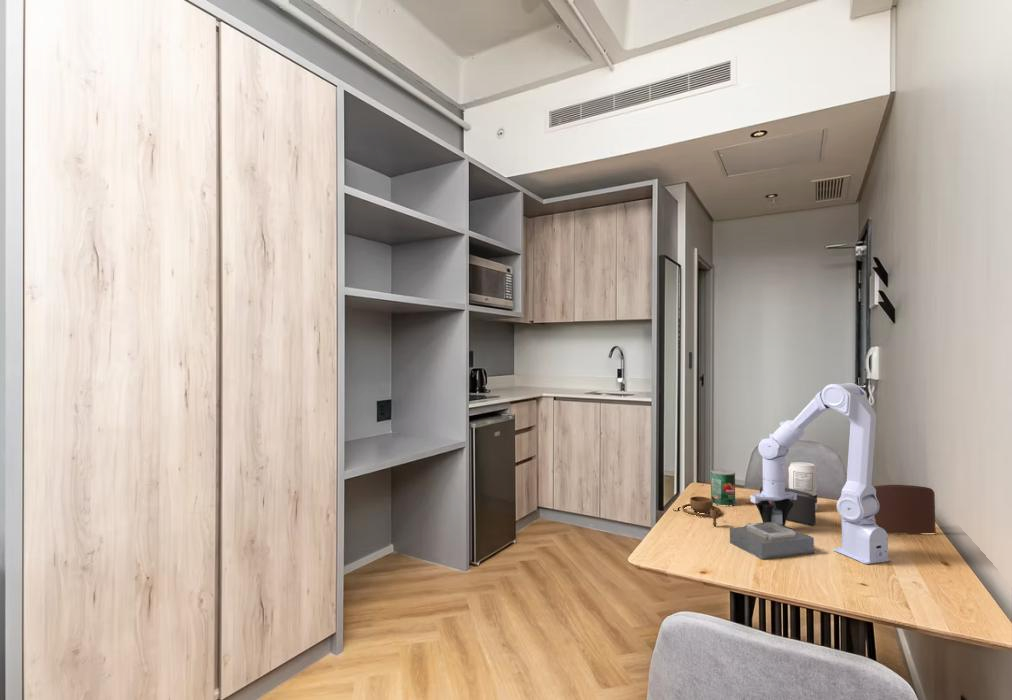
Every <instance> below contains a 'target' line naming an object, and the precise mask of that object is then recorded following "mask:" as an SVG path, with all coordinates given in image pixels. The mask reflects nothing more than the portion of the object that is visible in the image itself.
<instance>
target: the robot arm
mask: <svg viewBox="0 0 1012 700" xmlns="http://www.w3.org/2000/svg"><path fill="white" fill-rule="evenodd" d="M867 395H868V394H867V392H866V391H865V390H864V389H863V388H862V387H861V386H859V385H857V384H856V383H852V382H846V383H830V384H827V385H826V386H824V388H822V390H820V391H818V393H816V394H815V396H814V397H813V399H811V401H810V402H809V403H807V405H805V407H804V408H803V409H802V411H800V413H798V414H797V416H796V417H794V419H787V420H785V421H781V422H780V423H779V427H778V428H777V429H776V430H775V431H774V432H771V433H770V434H769V438H762V439H761V440H760V442H759V444H758V446H757V447H758V449H757V451H758V453H759V454H760V456H761V457H762V459H761V460H762V486H763V491H762V493H760V492H759V493H756V494H751V495H750V497H749V498H750V502H751V503H753V504H755V506H756V508H757V510H758V512H759V515H760V517H761V520H762V521H761V522H762V523H764V522H771V515H772V511H773V508H774V506H773V505H771V504H770V503H769V501H774V503H775V506H776V508H777V509H780V510H782V518H783V525H784V526H786V522H787V520H786V519H787V516H788V513H789V511H790V510H791V508H792V507H793V502H791V501H790V500H791V499H792V500H797V493H794V492H785V488H786V487H785V486H786V485H785V479H786V477H785V460H786V459H785V458H786V456H787V455H788V453H789V450H790V448H792V446H793V445H795V444H796V442H798V441H799V440H801V439H802V437H803V436H804V435H805V428H806V427H807V426H809V424H811V423H812V422H813V421H814V420H815V419H817V418H818V417H819V416H820V415H822V414H823V413H824V412H826V411H827V410H835V412H838V413H840V414H842V415H843V416H844V417H845V418H846V419H848V421H849V422H850V425H849V437H848V438H849V441H848V455H847V473H846V482H845V484H844V486H842V489H841V493H840V497H839V499H838V500H837V502H836V510H837V513H838V514H839V516H840V517H841V547H835V548H833V551H834V552H836V553H839V554H842V555H843V556H846V557H849V558H851V559H853V560H855V561H858V562H861V563H863V564H864V565H869V564H877V563H885V561H886V562H891V561H892V559H891V558H890V557H889V537H888V536H889V534H887V533H886V531H885V530H884V529H883V528H881V527H879V526H878V525H877V524H876V523H875V517H874V515H875V514H876V513H877V512H878V511H879V502H878V500H877V497H876V489H875V488H874V487H873V486H874V485H873V483H872V482H873V469H874V454H875V440H876V439H875V437H876V427H877V426H876V425H877V415H876V412H875V410H874V409H873V408H874V407H872V405H871V403H870V401H869V400H868V396H867Z"/></svg>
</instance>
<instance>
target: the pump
mask: <svg viewBox="0 0 1012 700" xmlns="http://www.w3.org/2000/svg"><path fill="white" fill-rule="evenodd" d="M771 522H772V523H779V524H782V525H783V518H782V510H780V509H777V508H773V511H772V515H771Z"/></svg>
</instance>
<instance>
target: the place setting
mask: <svg viewBox="0 0 1012 700" xmlns="http://www.w3.org/2000/svg"><path fill="white" fill-rule="evenodd" d="M687 506H691V508H690V509H692V510H693V511H694V512H692V511H689V510H688V509H686V510H685V509H684V508H685V507H687ZM681 509H682V510H681V511H683V513H684V512H686V513H688V514H691V515H696V516H702V517H711V519H712V526H714V527H717V524H718V523H717V519H718V518H719V517H720V516H721V513H722V510H721V508H719V507H718V506H716V505H715V506H714V504H713V500H712V499H711V497H707V496H697V495H696V496H691V497H690V498H689V503H687V504H683V505H682V506H681ZM672 510H673V511H674V508H672ZM695 511H696V512H699V513H707V514H699V513H696V512H695ZM674 512H677V511H676V510H675V511H674ZM686 513H685V514H686ZM688 514H687V515H688ZM691 515H690V516H691ZM702 517H701V518H702ZM714 527H713V528H714Z"/></svg>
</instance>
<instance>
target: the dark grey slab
mask: <svg viewBox="0 0 1012 700" xmlns="http://www.w3.org/2000/svg"><path fill="white" fill-rule="evenodd" d="M762 491H763V485H761V486H760V488H759V493H762ZM785 492H794V493H797V500H792V499H791V500H790V501H791V502H793V507H792V508H791V510H790V511H789V513H788V516H787V519H786V521H787V522H788V521H789V522H791V523H792V522H793V523H797V524H802V525H804V526H805V525H806V526H815V524H816V521H817V519H816V516H817V515H816V510H815V498H814V496H813V495H811V494H809V493H807V492H803V491H799V490H795V489H790V488H789V487H785ZM769 503H770V504H771V505H773V506H774V508H776V506H775V503H774V501H769Z"/></svg>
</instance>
